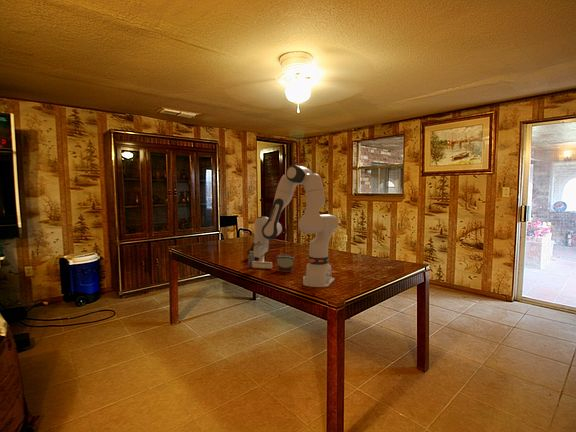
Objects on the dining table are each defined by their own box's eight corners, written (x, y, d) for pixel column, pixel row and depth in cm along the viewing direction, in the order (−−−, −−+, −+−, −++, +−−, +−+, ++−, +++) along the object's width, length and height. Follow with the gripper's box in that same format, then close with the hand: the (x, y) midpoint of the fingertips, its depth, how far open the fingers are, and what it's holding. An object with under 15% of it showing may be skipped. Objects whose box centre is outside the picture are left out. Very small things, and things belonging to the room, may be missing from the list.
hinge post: (251, 268, 211) (251, 254, 211) (247, 267, 212) (247, 254, 211) (252, 267, 214) (252, 253, 213) (249, 266, 215) (248, 253, 214)
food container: (296, 269, 207) (296, 254, 207) (294, 271, 201) (294, 256, 201) (278, 268, 211) (278, 253, 210) (276, 270, 205) (276, 255, 204)
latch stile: (253, 263, 226) (253, 251, 225) (249, 262, 227) (249, 251, 226) (254, 262, 228) (254, 251, 227) (250, 262, 229) (250, 250, 228)
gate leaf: (252, 267, 212) (252, 261, 212) (252, 266, 213) (252, 261, 213) (271, 268, 209) (271, 262, 208) (272, 268, 210) (272, 262, 210)
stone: (255, 256, 250) (255, 237, 249) (266, 257, 245) (265, 238, 244) (244, 259, 238) (244, 240, 236) (255, 261, 233) (255, 241, 231)
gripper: (260, 243, 193) (260, 265, 195) (270, 238, 213) (270, 257, 214) (251, 243, 195) (251, 264, 196) (261, 237, 214) (261, 257, 216)
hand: (261, 260), depth 205 cm, fingers closed
